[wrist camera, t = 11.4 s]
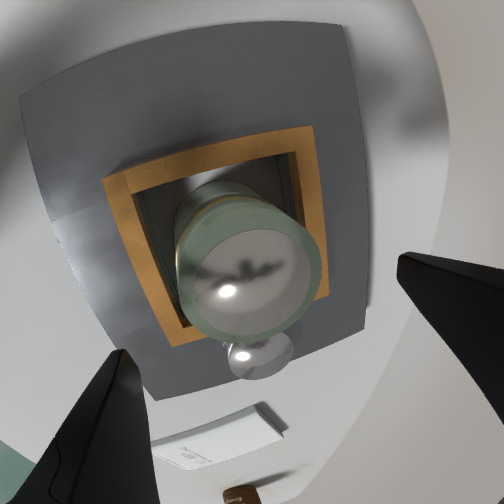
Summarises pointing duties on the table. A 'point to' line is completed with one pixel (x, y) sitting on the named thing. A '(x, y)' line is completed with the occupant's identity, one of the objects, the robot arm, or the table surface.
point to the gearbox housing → (196, 161)
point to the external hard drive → (218, 440)
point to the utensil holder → (241, 495)
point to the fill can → (242, 264)
